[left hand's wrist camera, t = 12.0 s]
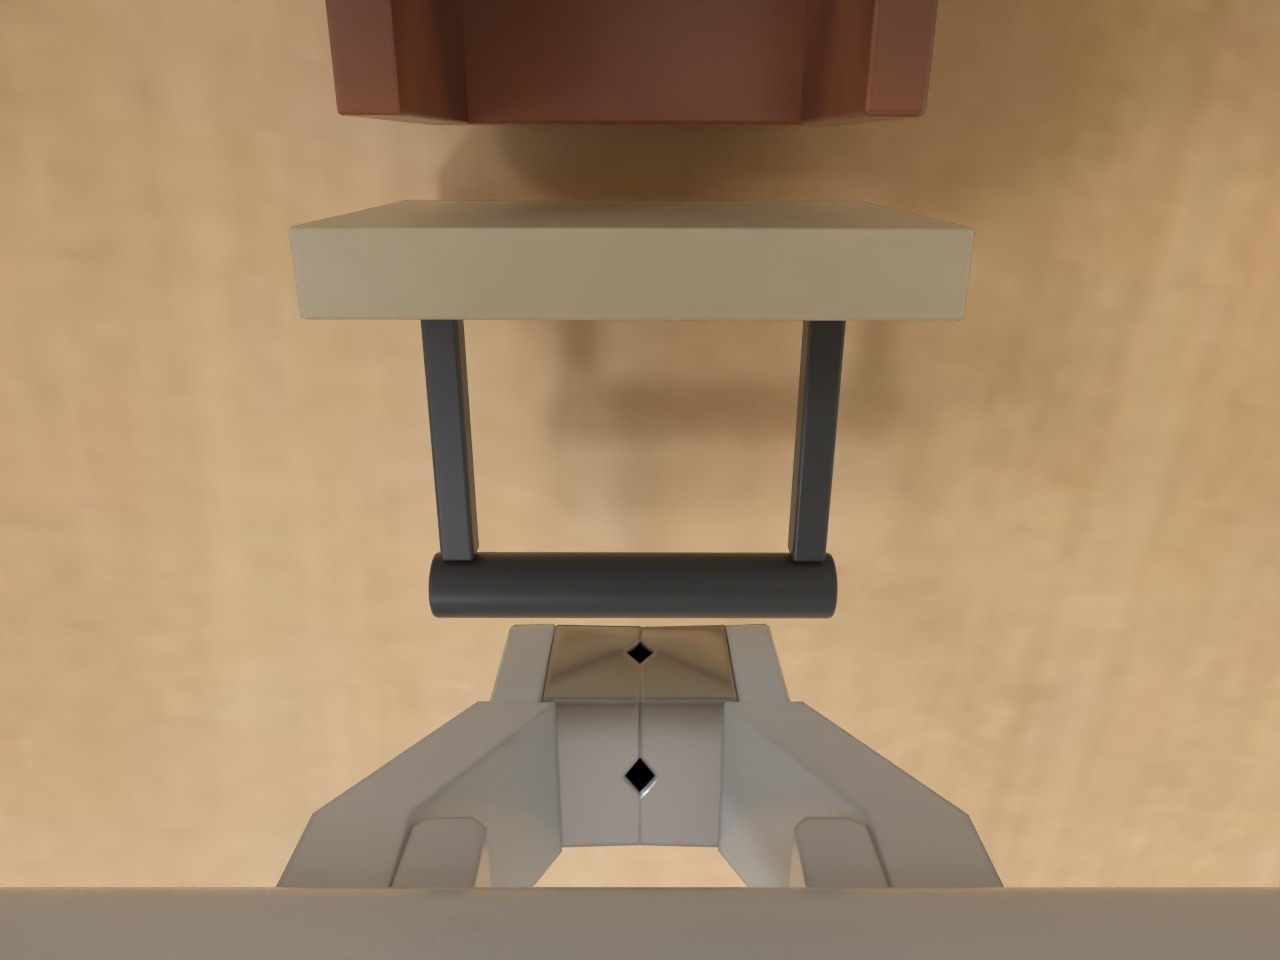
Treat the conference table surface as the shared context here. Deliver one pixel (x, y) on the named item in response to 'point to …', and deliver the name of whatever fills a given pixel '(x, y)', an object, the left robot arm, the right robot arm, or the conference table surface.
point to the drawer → (632, 246)
